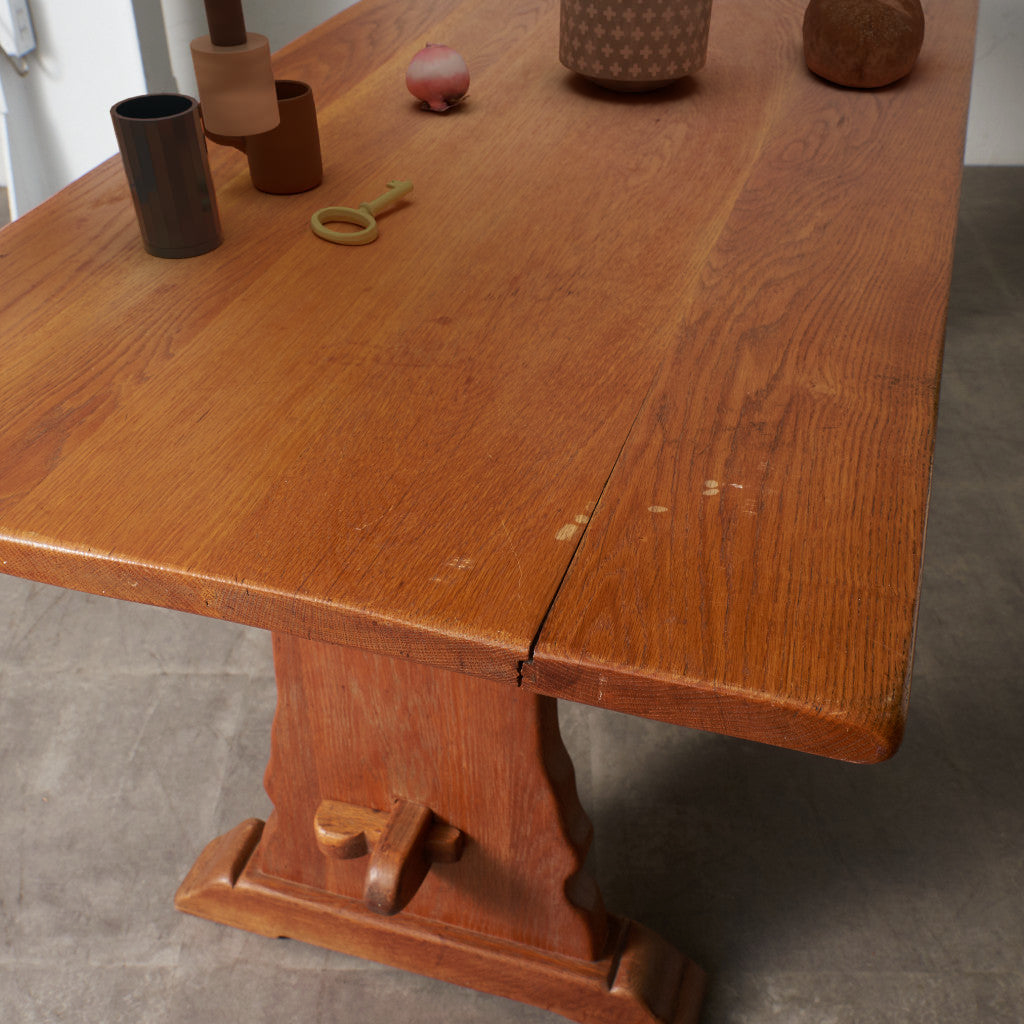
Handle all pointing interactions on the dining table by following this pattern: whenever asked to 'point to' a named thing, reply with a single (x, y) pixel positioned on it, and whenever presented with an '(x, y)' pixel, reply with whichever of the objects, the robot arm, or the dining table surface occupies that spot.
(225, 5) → the brush
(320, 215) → the key
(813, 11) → the bread
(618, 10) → the planter
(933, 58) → the dining table surface
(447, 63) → the onion
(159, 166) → the cup
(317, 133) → the mug
